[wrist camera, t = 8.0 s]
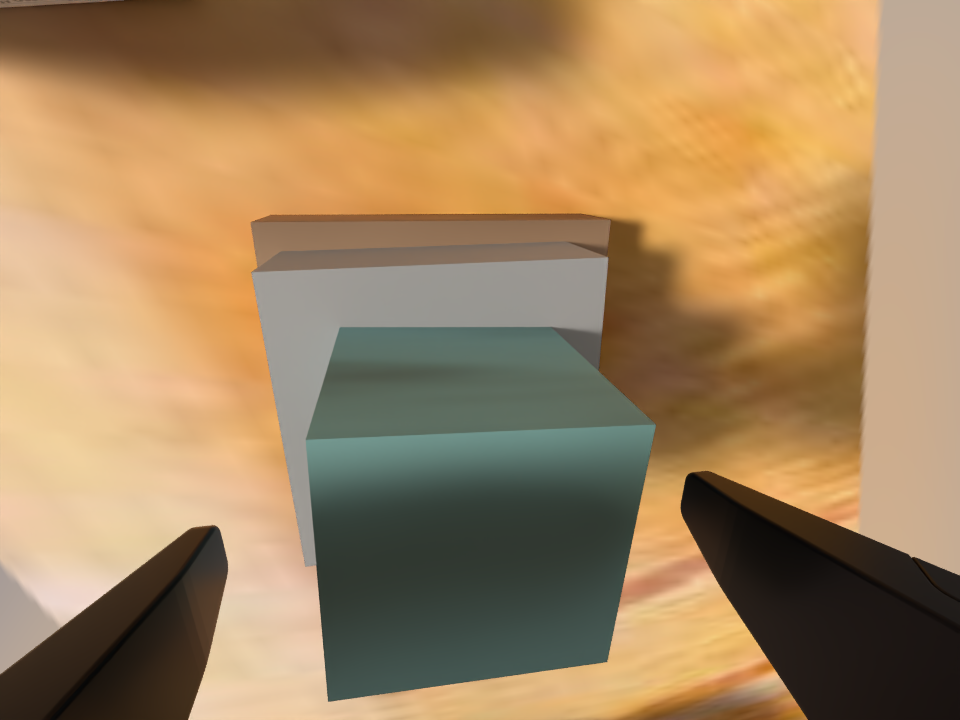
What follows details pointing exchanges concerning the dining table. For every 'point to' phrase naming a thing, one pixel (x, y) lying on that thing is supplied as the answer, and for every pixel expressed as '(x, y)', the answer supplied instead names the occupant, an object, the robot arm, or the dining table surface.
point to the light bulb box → (43, 2)
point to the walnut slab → (423, 231)
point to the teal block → (468, 506)
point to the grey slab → (410, 314)
